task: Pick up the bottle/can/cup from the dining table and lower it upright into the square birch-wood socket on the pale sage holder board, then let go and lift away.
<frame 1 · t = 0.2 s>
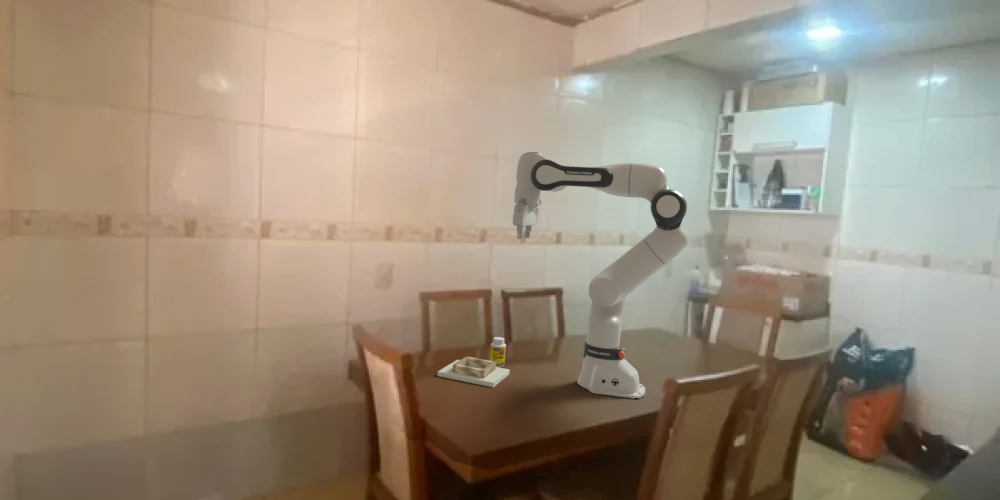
hand: (523, 238, 188), 47 cm above the table, fingers open, 8 cm apart
holder: (474, 374, 182), on the table
supplement bottle: (496, 366, 194), on the table
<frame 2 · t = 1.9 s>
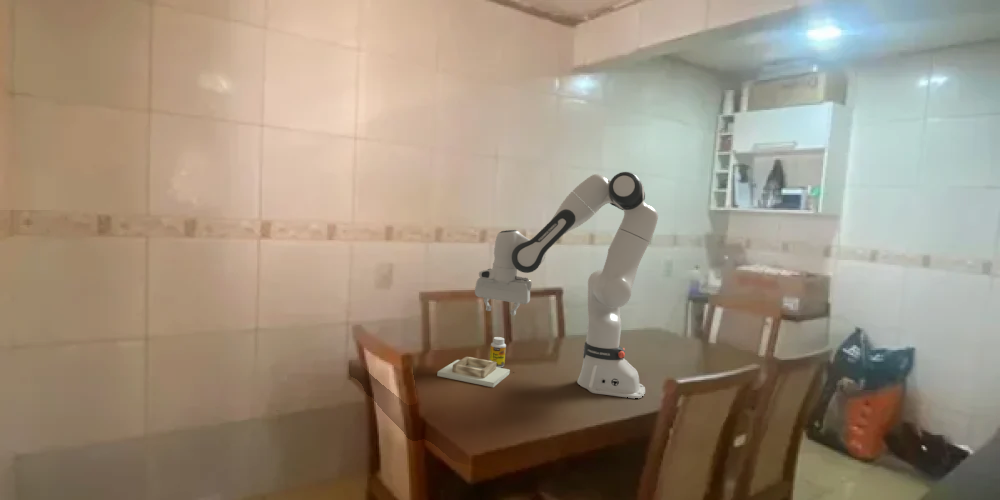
hand: (500, 312, 193), 20 cm above the table, fingers open, 8 cm apart
nothing on the table moved.
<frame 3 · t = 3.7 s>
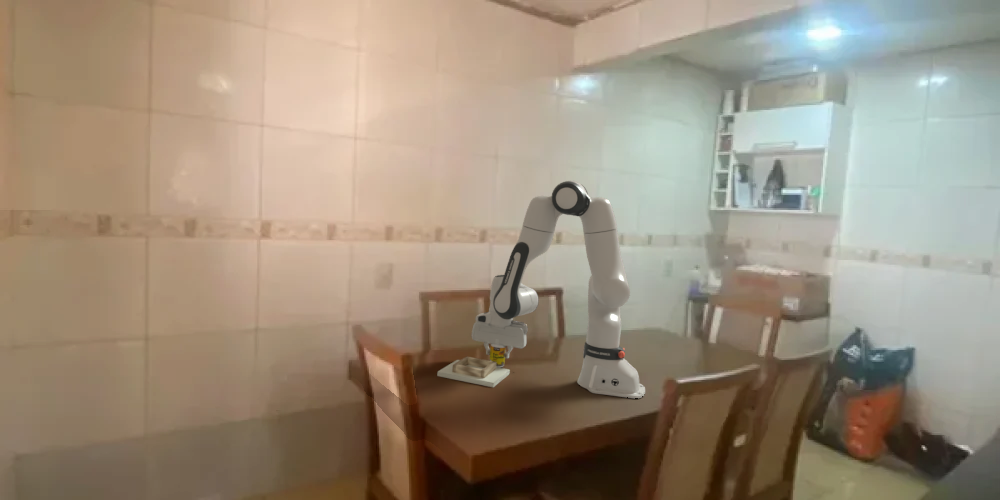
hand: (497, 356, 194), 4 cm above the table, fingers closed on supplement bottle, 5 cm apart
supplement bottle: (496, 366, 194), on the table, touching gripper
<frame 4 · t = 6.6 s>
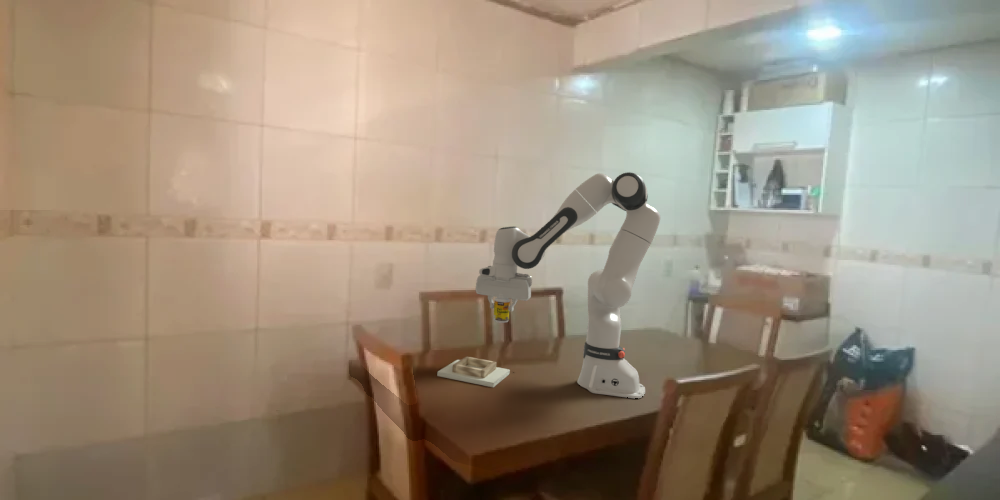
hand: (501, 309, 193), 21 cm above the table, fingers closed on supplement bottle, 5 cm apart
supplement bottle: (500, 321, 193), point 16 cm above the table, touching gripper
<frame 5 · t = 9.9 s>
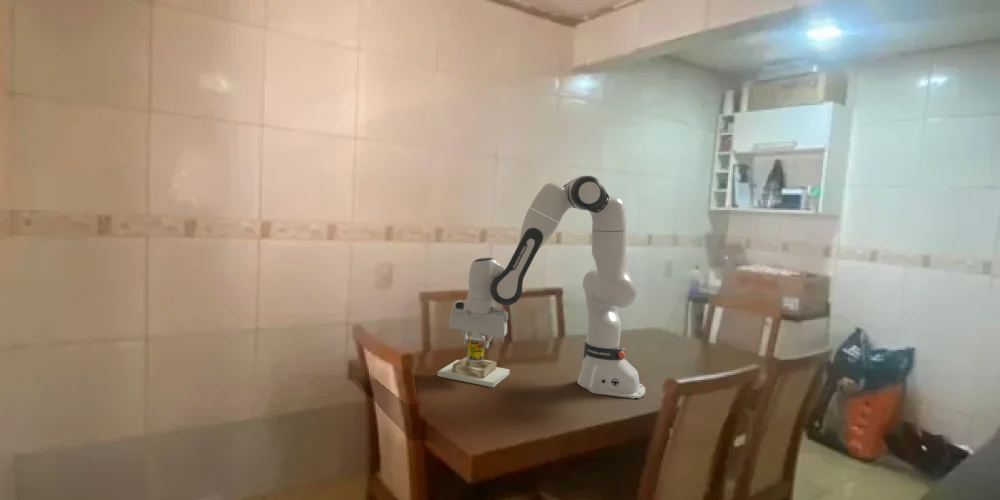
hand: (476, 345, 181), 10 cm above the table, fingers closed on supplement bottle, 5 cm apart
supplement bottle: (474, 360, 182), point 5 cm above the table, touching gripper
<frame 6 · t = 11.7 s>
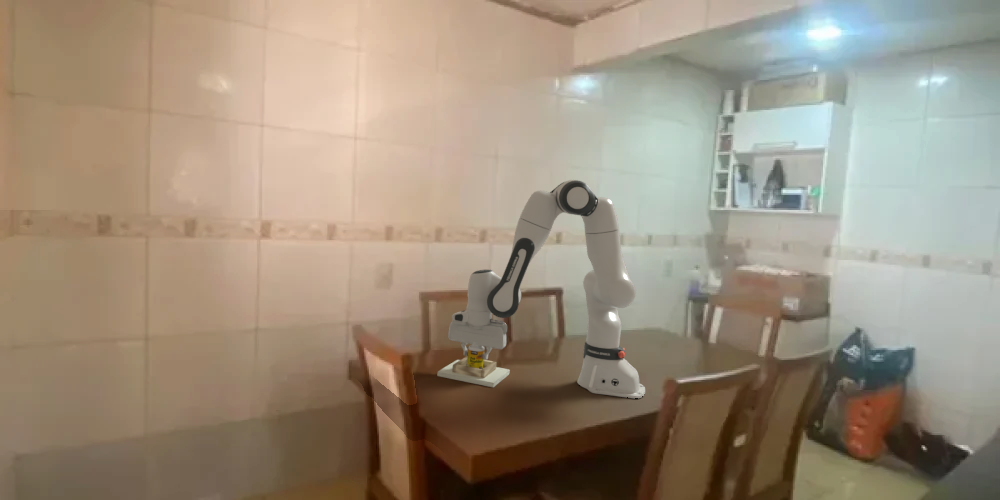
hand: (475, 357, 182), 6 cm above the table, fingers closed on supplement bottle, 6 cm apart
supplement bottle: (474, 371, 182), point 1 cm above the table, touching gripper, holder
when the fingers open (6 cm above the table, at t = 11.7 s): supplement bottle stays where it is, resting on holder.
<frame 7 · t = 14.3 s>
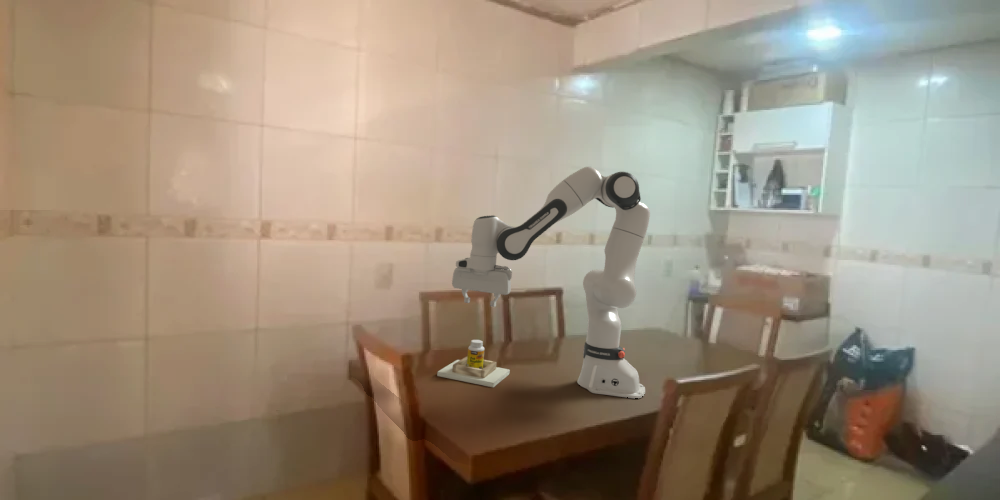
hand: (479, 304, 180), 24 cm above the table, fingers open, 8 cm apart
supplement bottle: (474, 371, 182), point 1 cm above the table, touching holder
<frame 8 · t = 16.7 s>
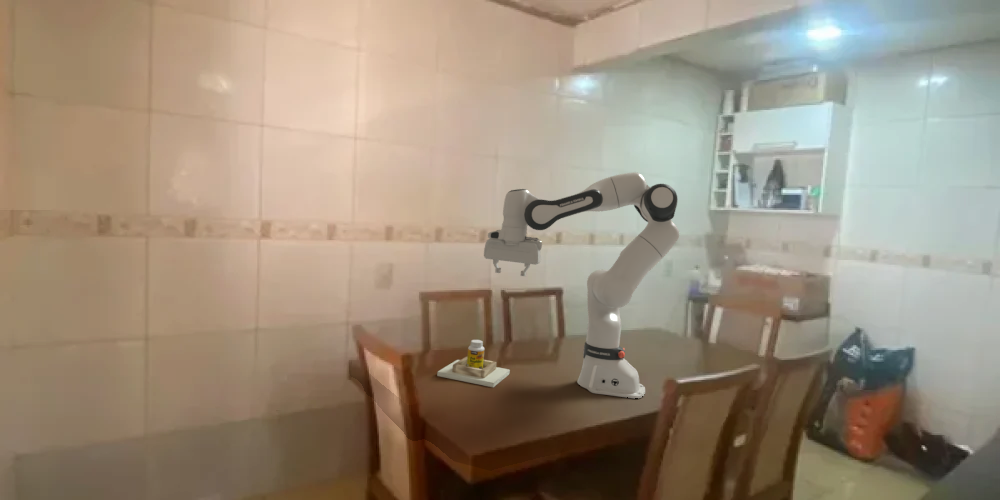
hand: (510, 274, 188), 34 cm above the table, fingers open, 8 cm apart
nothing on the table moved.
at the end: supplement bottle 0.0 cm off-centre on the holder, point 1.3 cm above the holder's base; supplement bottle tilted 0°; the gripper is holding nothing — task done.
